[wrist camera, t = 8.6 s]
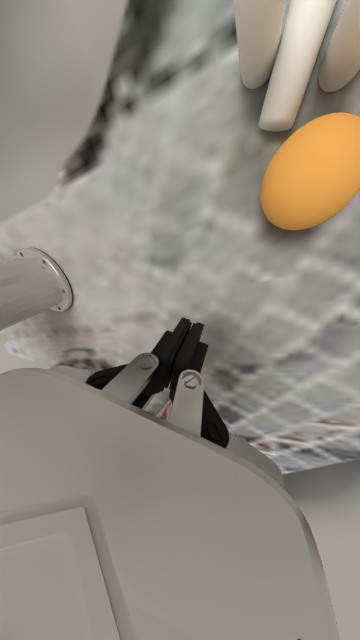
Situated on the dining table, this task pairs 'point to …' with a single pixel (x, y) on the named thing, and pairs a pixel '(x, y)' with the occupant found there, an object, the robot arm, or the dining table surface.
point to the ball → (313, 173)
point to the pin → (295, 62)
